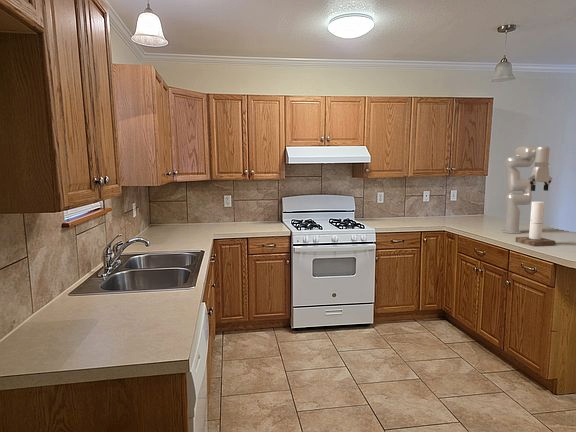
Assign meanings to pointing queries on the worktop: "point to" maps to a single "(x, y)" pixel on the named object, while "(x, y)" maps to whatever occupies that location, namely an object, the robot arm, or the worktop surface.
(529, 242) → the walnut base
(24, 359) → the worktop surface
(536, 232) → the cylindrical container
